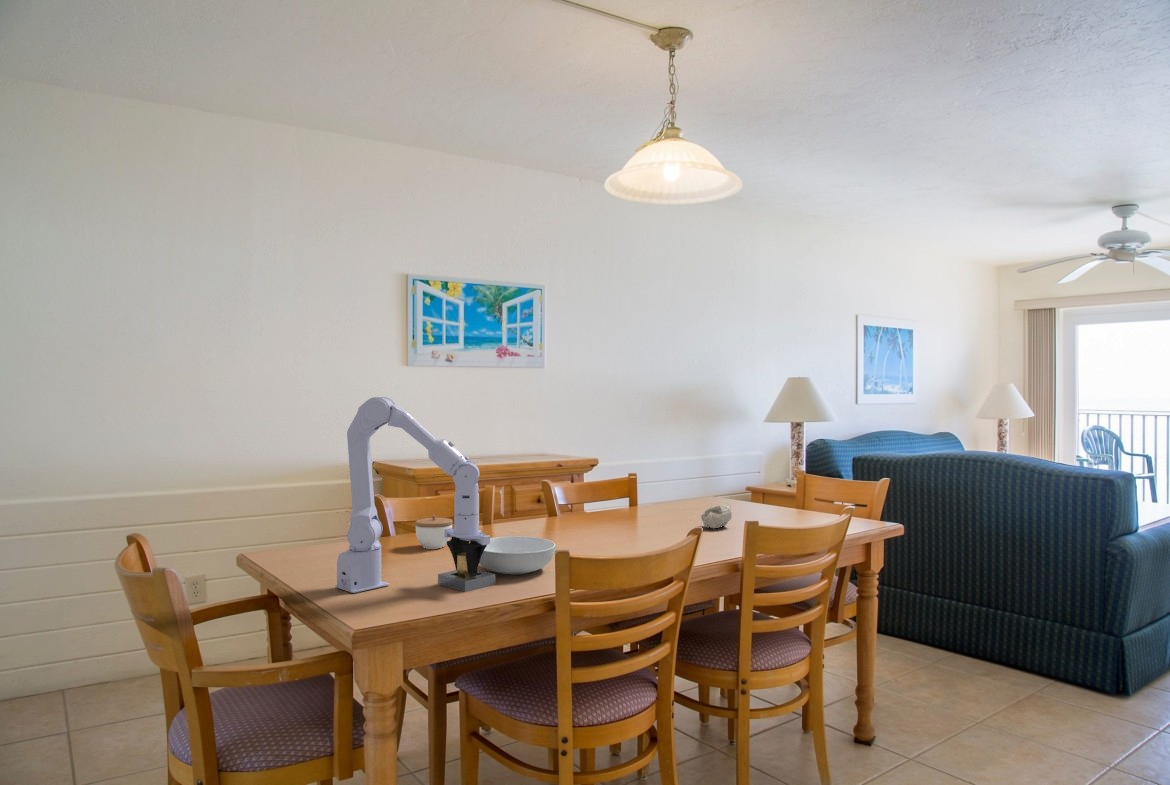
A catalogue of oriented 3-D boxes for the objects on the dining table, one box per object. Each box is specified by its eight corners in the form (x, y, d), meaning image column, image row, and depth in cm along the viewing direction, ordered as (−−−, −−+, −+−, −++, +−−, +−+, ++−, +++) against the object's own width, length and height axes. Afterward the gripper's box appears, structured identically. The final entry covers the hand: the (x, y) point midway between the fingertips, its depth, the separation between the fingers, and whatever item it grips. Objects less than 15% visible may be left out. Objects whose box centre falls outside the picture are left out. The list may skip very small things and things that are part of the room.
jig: (465, 591, 169) (465, 581, 169) (438, 584, 176) (438, 574, 176) (495, 584, 176) (495, 574, 176) (468, 577, 182) (468, 567, 182)
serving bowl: (496, 585, 175) (496, 555, 175) (459, 568, 192) (459, 541, 193) (571, 573, 186) (571, 546, 187) (530, 558, 204) (530, 533, 204)
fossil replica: (699, 530, 246) (730, 534, 244) (701, 506, 245) (732, 509, 244) (700, 521, 258) (730, 525, 256) (703, 498, 257) (732, 501, 255)
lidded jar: (448, 551, 213) (448, 518, 213) (410, 550, 213) (410, 517, 213) (456, 543, 224) (456, 512, 224) (420, 543, 224) (420, 512, 224)
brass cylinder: (464, 583, 173) (464, 557, 173) (453, 580, 175) (453, 554, 175) (478, 579, 176) (477, 554, 176) (467, 576, 178) (467, 551, 178)
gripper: (500, 514, 174) (500, 573, 174) (460, 508, 183) (460, 563, 183) (476, 518, 168) (476, 578, 168) (437, 511, 178) (437, 568, 178)
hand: (466, 571), depth 176 cm, fingers closed on brass cylinder, 4 cm apart
